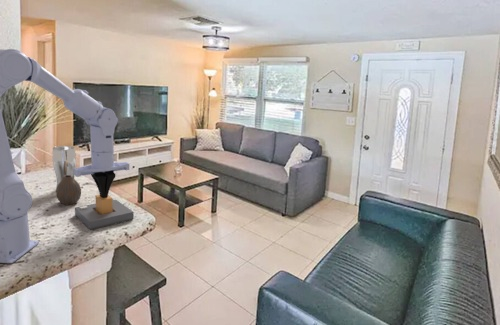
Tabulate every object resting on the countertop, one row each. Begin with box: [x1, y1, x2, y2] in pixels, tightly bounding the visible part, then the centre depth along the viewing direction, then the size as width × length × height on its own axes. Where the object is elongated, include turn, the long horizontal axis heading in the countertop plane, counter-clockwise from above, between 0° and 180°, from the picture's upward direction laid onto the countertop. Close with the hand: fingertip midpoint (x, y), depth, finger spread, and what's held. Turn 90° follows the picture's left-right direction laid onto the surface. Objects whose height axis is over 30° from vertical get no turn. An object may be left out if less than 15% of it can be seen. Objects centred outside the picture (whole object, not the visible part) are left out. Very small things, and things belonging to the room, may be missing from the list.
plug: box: [95, 194, 113, 215], centre depth 94 cm, size 4×3×6 cm, turn 45°
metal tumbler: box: [52, 145, 77, 190], centre depth 113 cm, size 7×7×15 cm
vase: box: [55, 175, 82, 206], centre depth 103 cm, size 7×7×9 cm
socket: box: [74, 199, 135, 231], centre depth 95 cm, size 12×12×3 cm
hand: (103, 196), depth 94 cm, fingers closed, pressing on plug
